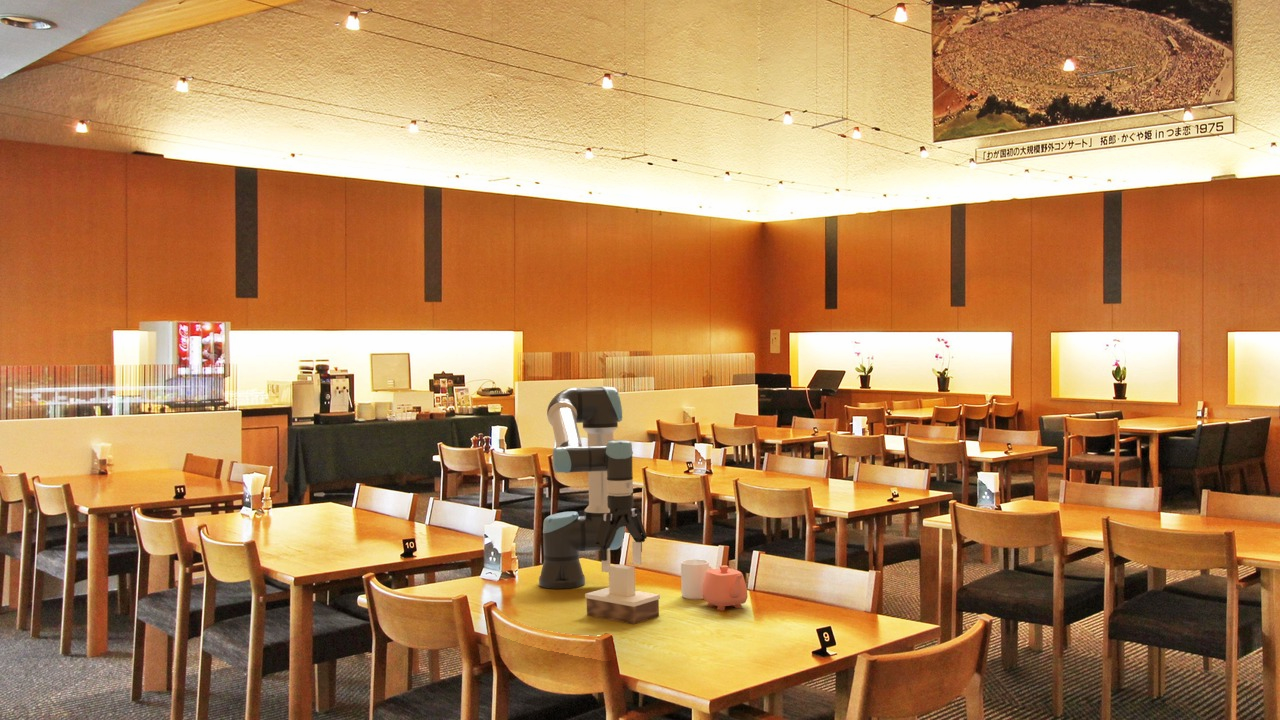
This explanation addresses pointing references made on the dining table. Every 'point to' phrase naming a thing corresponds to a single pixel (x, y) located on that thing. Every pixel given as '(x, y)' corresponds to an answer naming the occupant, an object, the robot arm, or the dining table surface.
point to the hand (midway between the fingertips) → (621, 568)
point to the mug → (693, 577)
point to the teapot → (724, 588)
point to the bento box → (623, 611)
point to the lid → (622, 588)
